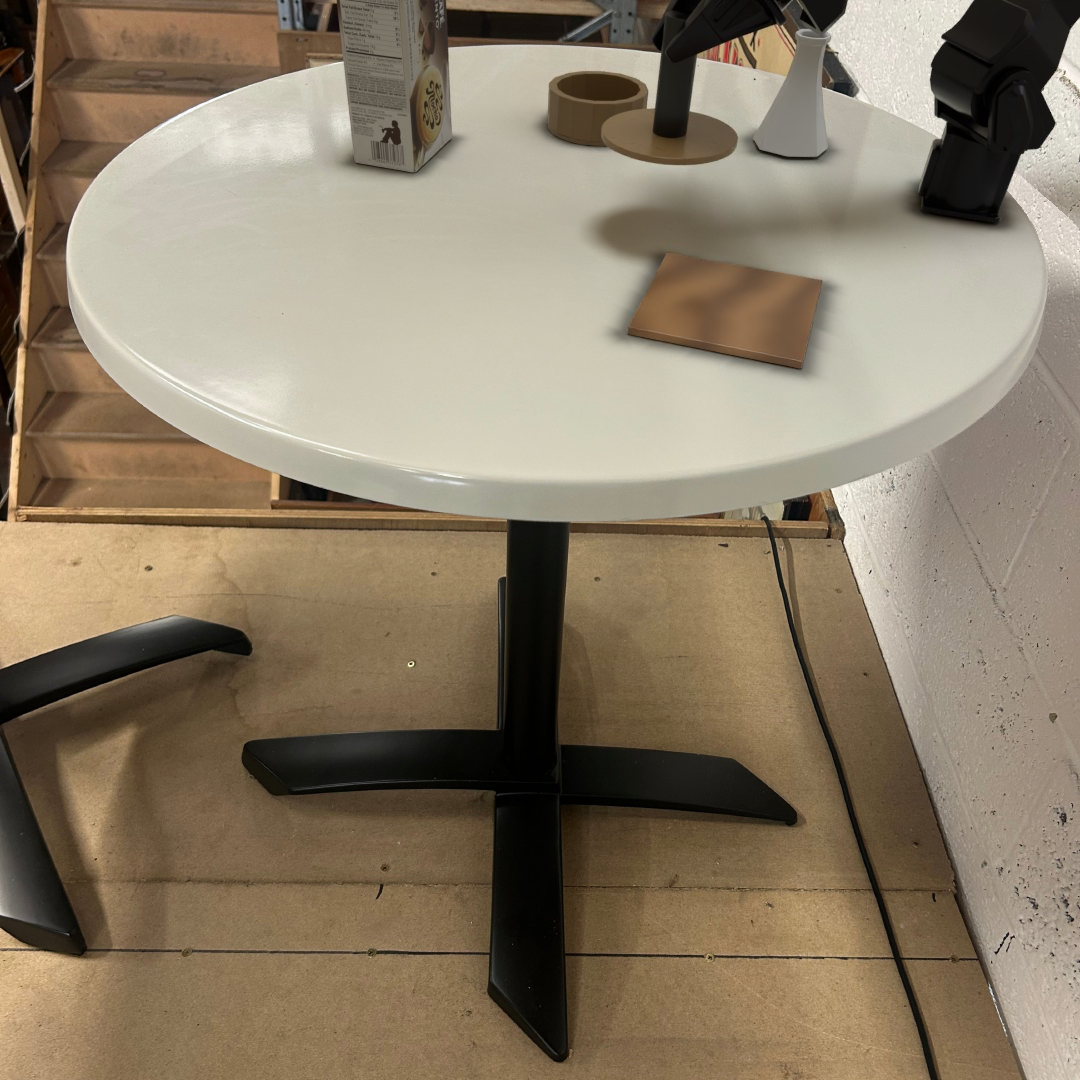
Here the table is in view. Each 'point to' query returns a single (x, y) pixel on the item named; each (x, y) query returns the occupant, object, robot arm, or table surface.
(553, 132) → the tin
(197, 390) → the table surface
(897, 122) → the table surface
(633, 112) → the tin lid
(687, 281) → the cork mat
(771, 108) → the flask
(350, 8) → the coffee box
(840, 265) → the table surface
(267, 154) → the table surface
